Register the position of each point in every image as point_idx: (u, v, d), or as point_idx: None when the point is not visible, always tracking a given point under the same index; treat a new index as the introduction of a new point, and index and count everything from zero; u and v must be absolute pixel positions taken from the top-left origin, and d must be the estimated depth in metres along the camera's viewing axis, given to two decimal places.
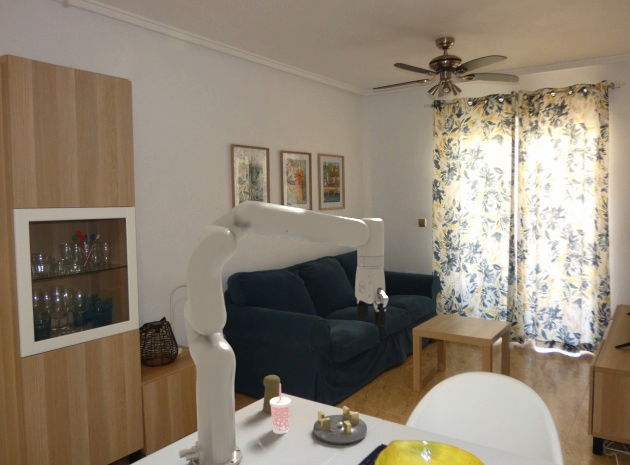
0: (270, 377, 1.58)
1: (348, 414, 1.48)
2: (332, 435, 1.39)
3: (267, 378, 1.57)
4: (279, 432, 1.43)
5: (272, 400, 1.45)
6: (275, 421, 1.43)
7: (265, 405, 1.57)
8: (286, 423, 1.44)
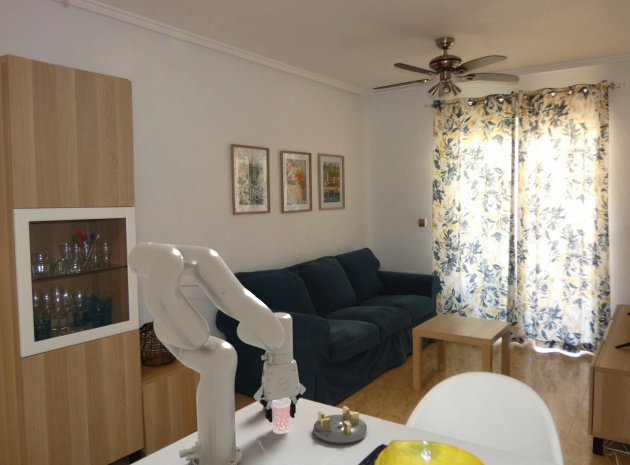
0: None
1: (348, 414, 1.48)
2: (332, 435, 1.39)
3: None
4: (279, 432, 1.43)
5: None
6: (275, 421, 1.43)
7: None
8: (286, 423, 1.44)
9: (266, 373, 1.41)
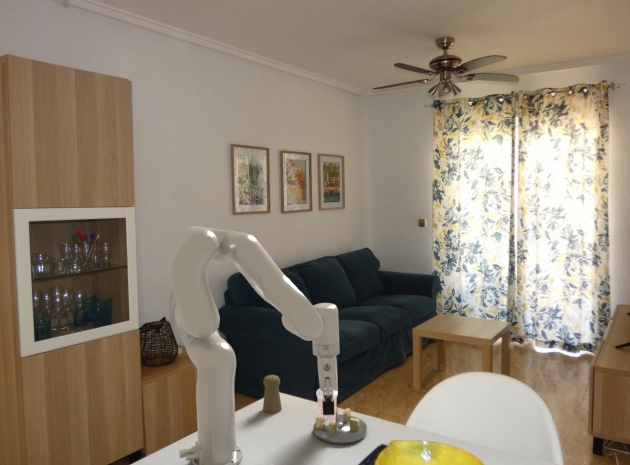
0: (270, 377, 1.58)
1: (337, 413, 1.49)
2: (345, 436, 1.38)
3: (267, 378, 1.57)
4: None
5: (321, 395, 1.42)
6: None
7: (265, 405, 1.57)
8: None
9: (333, 365, 1.39)
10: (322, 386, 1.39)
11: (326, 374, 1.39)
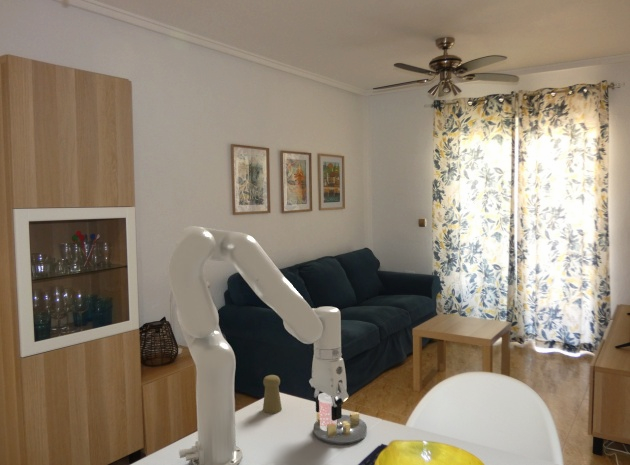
0: (270, 377, 1.58)
1: None
2: (359, 430, 1.41)
3: (267, 378, 1.57)
4: None
5: (330, 400, 1.39)
6: None
7: (265, 405, 1.57)
8: None
9: (343, 366, 1.38)
10: (336, 391, 1.36)
11: (339, 377, 1.37)
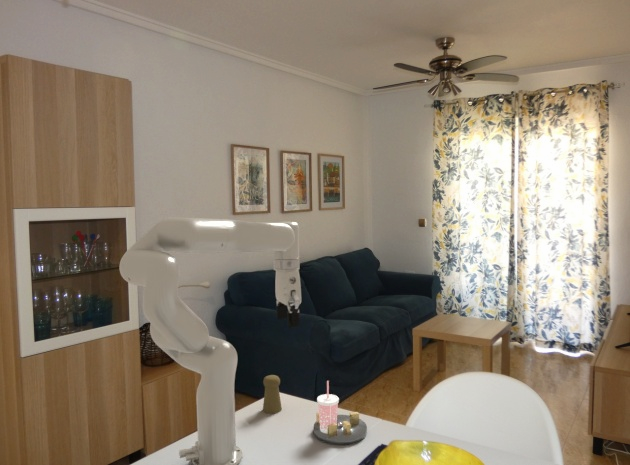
0: (270, 377, 1.58)
1: None
2: (359, 430, 1.41)
3: (267, 378, 1.57)
4: None
5: (329, 402, 1.39)
6: None
7: (265, 405, 1.57)
8: None
9: (298, 278, 1.44)
10: (288, 296, 1.42)
11: (292, 287, 1.43)
